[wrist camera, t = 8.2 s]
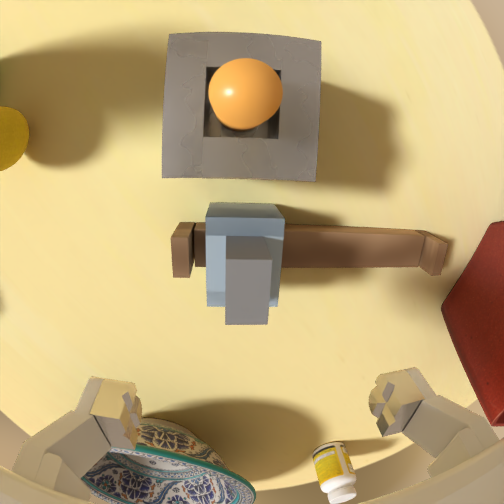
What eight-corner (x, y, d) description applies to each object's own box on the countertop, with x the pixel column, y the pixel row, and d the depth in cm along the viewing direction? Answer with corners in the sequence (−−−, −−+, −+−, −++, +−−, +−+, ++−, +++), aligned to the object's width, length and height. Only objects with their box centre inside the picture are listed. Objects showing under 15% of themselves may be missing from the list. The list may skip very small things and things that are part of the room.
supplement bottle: (305, 457, 38) (317, 507, 29) (321, 440, 36) (337, 493, 27) (334, 457, 39) (348, 503, 30) (350, 440, 37) (368, 489, 28)
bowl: (122, 344, 27) (93, 412, 18) (287, 434, 35) (299, 491, 26) (59, 424, 33) (41, 469, 24) (186, 485, 40) (184, 527, 31)
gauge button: (215, 81, 15) (210, 57, 10) (268, 83, 15) (283, 60, 10) (213, 131, 16) (207, 125, 11) (266, 132, 16) (281, 127, 11)
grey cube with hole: (188, 68, 19) (169, 34, 12) (291, 72, 20) (321, 41, 12) (184, 169, 22) (162, 181, 14) (286, 171, 23) (315, 185, 15)
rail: (179, 222, 23) (171, 237, 20) (424, 230, 25) (448, 244, 22) (181, 257, 24) (173, 277, 21) (418, 259, 26) (440, 275, 23)
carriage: (210, 202, 23) (199, 236, 15) (273, 204, 23) (299, 238, 15) (210, 277, 25) (203, 340, 17) (269, 277, 25) (287, 340, 17)
